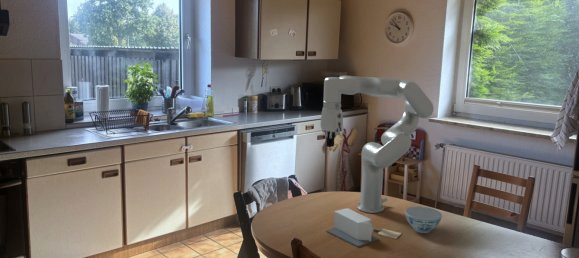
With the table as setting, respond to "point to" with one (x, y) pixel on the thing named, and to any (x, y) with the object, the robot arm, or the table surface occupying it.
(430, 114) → the robot arm
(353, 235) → the milk carton
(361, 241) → the mat
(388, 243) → the table surface
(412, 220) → the chinaware
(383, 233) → the turner
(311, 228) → the table surface
